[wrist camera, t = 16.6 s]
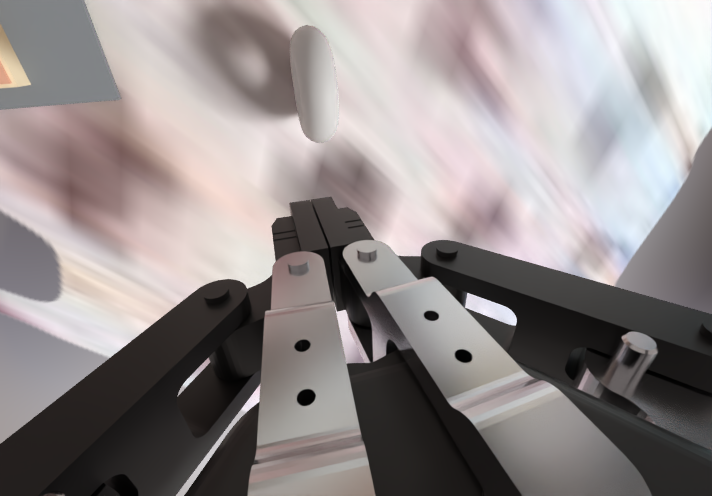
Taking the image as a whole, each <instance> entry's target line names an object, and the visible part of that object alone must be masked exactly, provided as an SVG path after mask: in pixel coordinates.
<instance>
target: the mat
mask: <svg viewBox="0 0 712 496" xmlns="http://www.w3.org/2000/svg"><path fill="white" fill-rule="evenodd" d="M0 24H1V26H2V28H3V30H4V32H5V34H6V36H7V38H8V40H9V42H10V44H11V46H12V48H13V50H14V52H15V54H16V56H17V58H18V60H19V62H20V64H21V65H22V67H23V69H24V71H25V73H26V75H27V77H28V79H29V81H30V83H31V85H27V86H21V87H12V88H0V110H2V109H14V108H26V107H38V106H50V105H62V104H74V103H86V102H98V101H110V100H120V99H121V97H120V94H119V91H118V89H117V86H116V83H115V81H114V78H113V76H112V73H111V70H110V68H109V65H108V62H107V60H106V57H105V55H104V52H103V49H102V47H101V44H100V41H99V39H98V36H97V34H96V31H95V28H94V26H93V23H92V20H91V18H90V15H89V13H88V10H87V7H86V5H85V2H84V0H0Z"/></svg>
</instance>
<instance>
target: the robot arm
mask: <svg viewBox="0 0 712 496" xmlns="http://www.w3.org/2000/svg"><path fill="white" fill-rule="evenodd" d="M289 204H290V211H291V216H289V217H283V218H277V219H276V220H275V222H274V223H273V225H272V234H273V242H274V250H275V259H276V262H275V263H274V265H273V270H272V276H270V277H269V278H268V279H267V280H265V281H264V282H262V283H260V284H258V285H256V286H253V287H251V288H248V289H247V288H246V286H245V285H244V284H243V283H242V282H240V281H237V280H231V279H226V280H218V281H214V282H211V283H209V284H206V285H204V286H202V287H201V288H199V289H198V290H196V291H195V292H194V293H192V294H191V295H190V296H188V297H187V298H186V299H185V300H183V301H182V302H181V303H180V304H178V305H177V306H176V307H174V308H173V309H172V310H171V311H169V312H168V313H167V314H165V315H164V316H163V317H162V318H160V319H159V320H158V321H157V322H155V323H154V324H153V325H151V326H150V327H149V328H148V329H146V330H145V331H144V332H143V333H141V334H140V335H139V336H137V337H136V338H135V339H134V340H132V341H131V342H130V343H129V344H127V345H126V346H125V347H123V348H122V349H121V350H120V351H118V352H117V353H116V354H114V355H113V356H112V357H111V358H109V359H108V360H107V361H106V362H105V363H103V364H102V365H101V366H99V367H98V368H97V369H95V370H94V371H93V372H92V373H90V374H89V375H88V376H86V377H85V378H84V379H83V380H81V381H80V382H79V383H78V384H76V385H75V386H74V387H72V388H71V389H70V390H69V391H67V392H66V393H65V394H64V395H62V396H61V397H60V398H58V399H57V400H56V401H55V402H53V403H52V404H51V405H49V406H48V407H47V408H46V409H44V410H43V411H42V412H41V413H39V414H38V415H37V416H35V417H34V418H33V419H32V420H30V421H29V422H28V423H27V424H25V425H24V426H23V427H21V428H20V429H19V430H18V431H16V432H15V433H14V434H12V435H11V436H10V437H9V438H7V439H6V440H5V441H4V442H2V443H1V444H0V496H176V494H177V493H178V492H179V490H180V489H181V488H182V486H183V485H184V483H185V482H186V481H187V480H188V478H189V477H190V476H191V474H192V473H193V472H194V471H195V469H196V468H197V466H198V465H199V464H200V463H201V461H202V460H203V459H204V457H205V456H206V455H207V453H208V452H209V451H210V449H211V448H212V446H213V445H214V444H215V443H216V441H217V440H218V439H219V437H220V436H221V435H222V433H223V432H224V431H225V429H226V428H227V427H228V425H229V424H230V423H231V421H232V420H233V419H234V418H235V416H236V415H237V414H238V412H239V411H240V410H241V408H242V407H243V406H244V404H245V403H246V402H247V400H248V399H249V398H250V396H251V395H252V394H253V392H254V391H255V390H256V389H257V387H258V386H259V385H260V401H259V403H257V404H256V405H255V406H254V407H252V408H251V409H250V410H249V411H248V412H247V413H246V414H245V415H244V416H242V417H241V418H240V420H239V421H238V422H237V423H236V424H235V425H234V426H233V428H232V429H231V430H230V431H229V433H228V434H227V435H226V437H225V439H224V440H223V441H222V443H221V444H220V446H219V447H218V448H217V450H216V451H215V453H214V454H213V456H212V457H211V458H210V460H209V461H208V463H207V464H206V465H205V467H204V468H203V470H202V471H201V473H200V474H199V475H198V477H197V478H196V480H195V481H194V483H193V484H192V485H191V487H190V488H189V490H188V491H187V493H186V494H185V495H184V496H712V314H709V313H706V312H702V311H698V310H695V309H691V308H688V307H684V306H680V305H677V304H674V303H670V302H667V301H663V300H659V299H656V298H653V297H649V296H646V295H642V294H638V293H635V292H631V291H628V290H624V289H621V288H617V287H614V286H610V285H607V284H603V283H600V282H596V281H593V280H589V279H586V278H582V277H579V276H575V275H571V274H568V273H564V272H561V271H557V270H554V269H550V268H547V267H543V266H540V265H536V264H533V263H529V262H526V261H522V260H519V259H515V258H512V257H508V256H504V255H501V254H497V253H494V252H490V251H487V250H483V249H480V248H476V247H473V246H469V245H466V244H462V243H459V242H455V241H449V240H438V241H433V242H430V243H427V244H426V245H424V246H423V248H422V250H421V257H419V256H397V255H396V254H395V253H394V252H393V250H392V249H391V248H390V247H389V246H388V245H386V244H385V243H383V242H380V241H375V240H374V239H373V237H372V236H371V234H370V232H369V231H368V229H367V228H366V226H365V225H364V223H363V222H362V220H361V218H360V217H359V215H358V214H357V212H355V211H353V210H351V209H349V208H348V207H347V208H340V209H338V208H337V207H336V205H335V203H334V201H333V199H332V197H325V198H319V199H312V200H311V202H310V200H306V201H299V202H292V203H289ZM467 293H470V294H473V295H476V296H478V297H481V298H484V299H487V300H490V301H492V302H495V303H498V304H501V305H503V306H506V307H508V308H509V309H511V310H512V311H513V312H514V314H515V315H516V318H517V324H516V326H512V325H508V324H505V323H503V322H500V321H498V320H495V319H493V318H490V317H487V316H485V315H482V314H480V313H477V312H474V311H472V310H469V309H467V308H465V304H466V298H467ZM334 303H335V305H334ZM335 306H336V309H337V311H342V310H346V311H347V314H348V325H349V330H350V332H351V334H352V337H353V339H354V341H355V343H356V345H357V347H358V349H359V352H360V354H361V356H362V358H363V360H364V362H365V363H350V364H346V359H345V354H344V349H343V344H342V339H341V335H340V330H339V325H338V320H337V315H336V310H335ZM208 357H209V360H210V363H209V364H208V365H207V367H206V368H205V369H204V370H203V371H202V372H201V373H200V374H199V375H198V376H197V377H196V378H195V379H194V380H193V381H192V382H191V383H190V384H189V385H188V386H187V387H186V389H185V390H184V391H183V392H182V393H181V394H180V395H179V396H178V397H177V395H178V392H179V390H180V388H181V386H182V385H183V383H184V382H185V381H186V380H187V379H188V378H189V377H190V376H191V375H192V374H193V373H194V372H195V371H196V370H197V368H198V367H199V366H200V365H201V364H202V363H203V362H204V361H205V360H206V359H207V358H208ZM260 383H261V384H260Z"/></svg>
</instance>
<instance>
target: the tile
mask: <svg viewBox="0 0 712 496" xmlns="http://www.w3.org/2000/svg"><path fill="white" fill-rule="evenodd" d="M27 85H31V83H30V81H29V79H28V77H27V75H26V73H25V71H24V69H23V67H22V65H21V64H20V62H19V60H18V58H17V56H16V54H15V52H14V50H13V48H12V46H11V44H10V42H9V40H8V38H7V36H6V34H5V32H4V30H3V28H2V26H1V24H0V88H12V87H21V86H27Z"/></svg>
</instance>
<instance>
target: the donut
mask: <svg viewBox="0 0 712 496" xmlns="http://www.w3.org/2000/svg"><path fill="white" fill-rule="evenodd" d="M290 64H291V74H292V81H293V88H294V95H295V101H296V106H297V111H298V116H299V120H300V124H301V128H302V130H303V133H304V134H305V136H306V137H307V138H309V139H310V140H311V141H314V142H316V143H324V142H327V141H329V140H330V139H331V138H332V137H333V136H334V134H335V132H336V130H337V126H338V120H339V95H338V84H337V75H336V69H335V63H334V58H333V54H332V50H331V47H330V45H329V42H328V40H327V38H326V36H325V35H324V34H323V33H322V32H321V31H320V30H319V29H317V28H315V27H313V26H308V25H306V26H302V27H300V28H298V29H297V30H296V31H295V32H294V34H293V35H292V38H291V42H290Z"/></svg>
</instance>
